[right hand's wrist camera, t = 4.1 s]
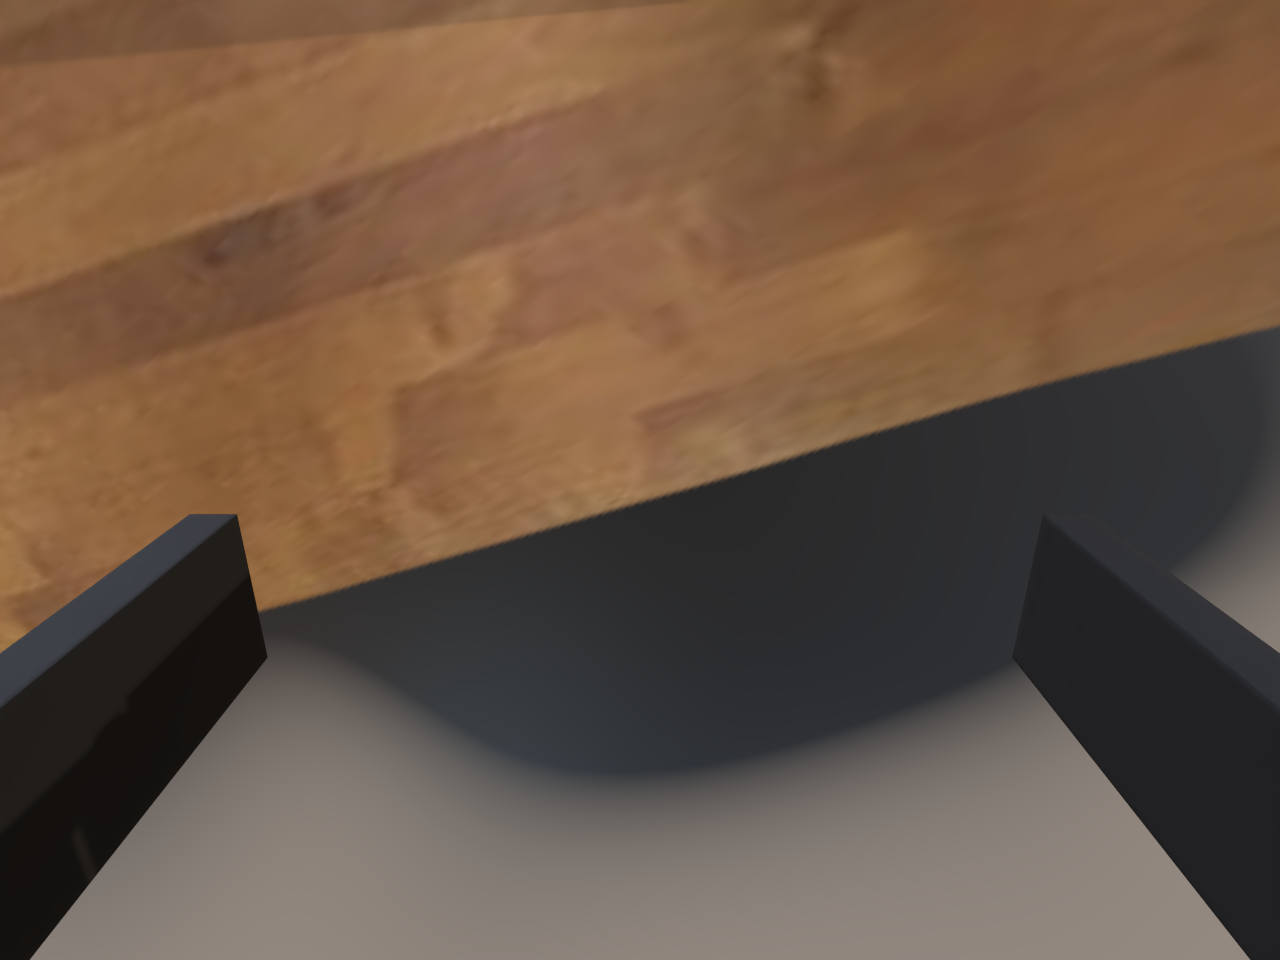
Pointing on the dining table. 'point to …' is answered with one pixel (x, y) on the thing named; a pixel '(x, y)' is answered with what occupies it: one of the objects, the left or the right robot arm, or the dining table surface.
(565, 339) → the dining table surface
